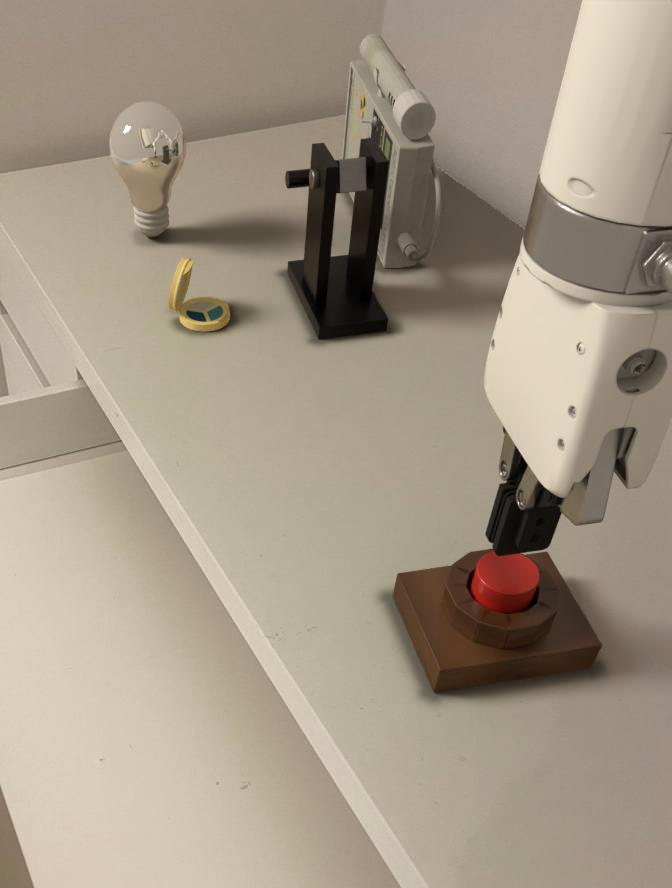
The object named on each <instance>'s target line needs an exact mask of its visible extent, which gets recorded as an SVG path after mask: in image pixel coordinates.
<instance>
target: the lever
mask: <svg viewBox="0 0 672 888" xmlns="http://www.w3.org/2000/svg"><path fill="white" fill-rule="evenodd" d="M334 160H335V161H336V163H337V164H338V166H339V172H338V183H337V193H336V194H347V193H349V192H358V191H366V190H367V183H366V157H360V158H350V159H342V158H341V159H334ZM309 173H310V168H301V169H292V170H286V171H285V174H284V176H285V177H284V182H285V187H286V189H288V190H290V189H299V188H309ZM349 194H350V193H349Z"/></svg>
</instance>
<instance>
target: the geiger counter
mask: <svg viewBox="0 0 672 888" xmlns="http://www.w3.org/2000/svg"><path fill="white" fill-rule="evenodd" d="M359 55H360V57H361V59H355V60H350V61H349V71H348V82H347V83H348V84H347V93H346V103H345V104H346V106H345V116H344V126H343V136H342V137H343V138H342V149H341V159H350V158H359V151H360V141H361V139H365V138H373V139H374V141H375V142H376V143H377V145H378V146H379V148H380V149H381V150H382V152H383V153H384V155H385V156H386V158H387V159H388V160H389V167H388V175H387V182H386V190H385V198H384V205H383V213H382V221H381V228H380V236H379V243H378V251H377V257H378V258H379V260H380V263H381V265H382V267H383V268H384V269H403V268H408V267H413V266H416V265H417V262H420V261H423V260H425V259H426V258H427V257H428V256H429V255H430V254H431V252H432V250H433V248H434V247H433V246H434V244H435V240H436V237H437V235H438V232H439V231H438V230H439V225H440V219H441V211H442V188H441V187H442V186H441V180H440V175H439V173H438V169H437V166H436V163H435V160H434V152H435V146H436V145H435V143H434V141H433V139H432V138H431V136H430V134H429V133H430V132H431V131H432V130H433V128H434V126H435V123H436V119H437V113H436V110H435V107H434V106H433V105H432V103H431V102H430V100H429V99H428V97H427V96H426V95H425V93H424V92H423V91H422V90H420V89H417V88H416V87H415V85H414V84H413V82H412V80H411V79H410V77H408V75H407V73H406V70H407V66H406V65H405V64H404V63H402V64H401V63H400V61H399V60H397V57H396V56H395V55H394V53H393V52H392V51H391V49H390V47H389V46H388V44H387V43H386V41H385V39H384V38H383V37H382V35H381V34H379V33H370V34H367V35H366V36H365V37H364V38H363V39H362V40H361V42H360V44H359ZM431 174H432V177H433V181H434V186H435V187H434V188H435V212H434V219H433V225H432V231H431V233H430V237H429V240H428V243H427V246H426V248H425V251H424V252H422V253H421V254H420V252H419V248H420V242H421V241H420V240H421V235H422V229H423V222H424V216H425V209H426V204H427V197H428V190H429V186H430V185H429V184H430V178H431ZM349 197H350V198H351V201H352V202H353V203H354V197H355V192H349Z"/></svg>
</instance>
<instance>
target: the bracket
mask: <svg viewBox="0 0 672 888" xmlns="http://www.w3.org/2000/svg"><path fill="white" fill-rule="evenodd" d="M310 155H311V156H310V166H309V167H310V168H309V169H310V173H309V187H308V196H307V208H306V209H307V210H306V221H305V222H306V225H305V240H304V251H303V252H304V253H303V259H297V260H296V259H295V260H289V261H287V271H286V274H287V276H288V278H289V280H290V283H291V285H292V286H293V289H294V291H295V294H297V297H298V299H299V301H300V304H301V306H302V308H303V310H304V312H305V314H306V316H307V318H308V320H309V322H310V325H311V327H312V329H313V331H314V333H315V335H316V338H317V340H325V339H334V338H342V337H350V336H358V335H366V334H375V333H376V334H377V333H383V332H387V331H388V326H389V317H388V315H387V314H386V312H385V309H384V308H383V306H382V305H381V302H380V301H379V300H378V298H377V296H376V294H375V293H374V291H373V290H374V289H373V288H374V281H375V275H376V274H375V273H376V265H377V259H378V254H377V251H378V243H379V236H380V228H381V221H382V213H383V205H384V198H385V190H386V182H387V175H388V167H389V160H388V159H387V158H386V156H385V155H384V153H383V152H382V150H381V149H380V148H379V146H378V145H377V143H376V142H375V141H374V139H373V138H365V139H361V141H360V151H359V158H360V157H366V183H367V190H366V191H358V192H355V197H354V202H353V208H352V218H351V226H350V234H349V246H348V252H347V253H348V254H342V255H332V247H333V235H334V225H335V212H336V202H337V194H338V193H337V183H338V172H339V166H338V164H337V163H336V161H335V160H336V159H335V158H334V156H333V155H332V153H331V152H330V150H329V149H328V147H327V145H326V144H325V142H316V143H315V142H314V143H312V144H311V154H310Z"/></svg>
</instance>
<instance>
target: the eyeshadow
mask: <svg viewBox="0 0 672 888" xmlns="http://www.w3.org/2000/svg"><path fill="white" fill-rule="evenodd" d="M194 264H195V260H194V259H192V258H187V257H182V258H181V259H180V260H179V263H178V264H177V267H176V269H175V272H174V275H173V277H172V282H171V286H170V289H169V296H168V308H169V309H170V310H173V311H174V312H178V314H179V315H178V316H179V317H178V318H179V322H180V323H181V324H182V326H184V327H185V328H187V329H188V330H191V331H196V332H213V331H217V330H220V329H222V328H224V327H225V326H227V325H228V324H229V322H230V320H231V311H230V306H229V304H228V303H227V302H226V301H224V300H222V299H220V298H217V297H211V296H201V297H200V296H199V297H194V298H191V299H189V300H186V301H185V298H186V296H187V293H188V291H189V290H188V289H189V287H190V282H191V278H192V272H193V266H194ZM184 301H185V302H184Z"/></svg>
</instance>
